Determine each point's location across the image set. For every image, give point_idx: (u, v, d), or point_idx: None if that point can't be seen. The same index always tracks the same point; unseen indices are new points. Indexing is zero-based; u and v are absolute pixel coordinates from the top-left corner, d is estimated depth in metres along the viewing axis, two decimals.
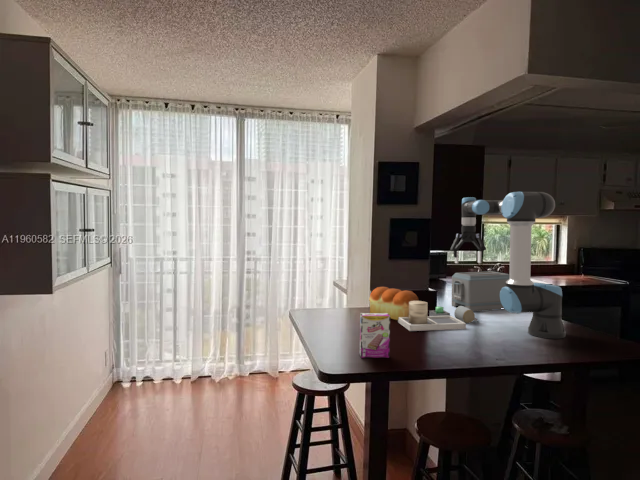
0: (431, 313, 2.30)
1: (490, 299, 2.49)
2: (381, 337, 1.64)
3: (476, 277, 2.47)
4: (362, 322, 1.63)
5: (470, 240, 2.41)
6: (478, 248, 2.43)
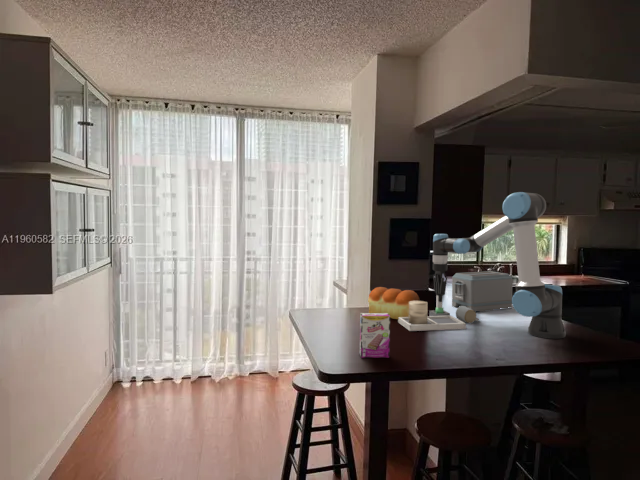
0: (431, 313, 2.30)
1: (492, 299, 2.49)
2: (381, 337, 1.64)
3: (478, 277, 2.46)
4: (362, 322, 1.63)
5: None
6: None
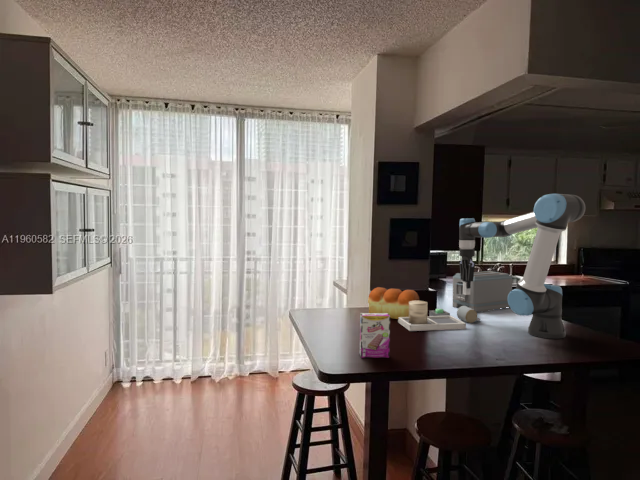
0: (431, 313, 2.30)
1: (493, 299, 2.49)
2: (381, 337, 1.64)
3: (479, 277, 2.46)
4: (362, 322, 1.63)
5: None
6: None
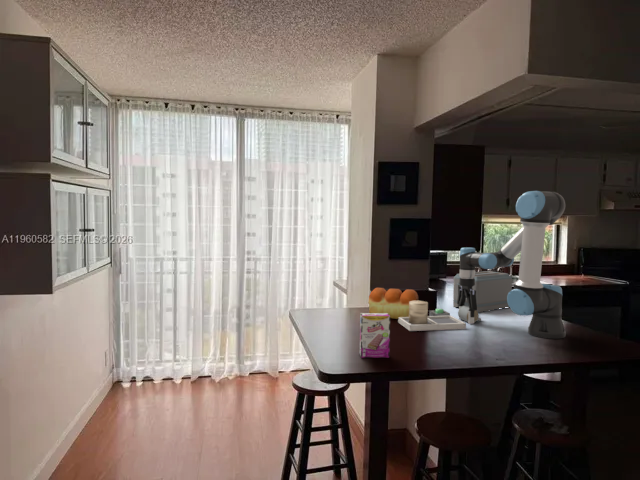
0: (431, 313, 2.30)
1: (494, 299, 2.49)
2: (381, 337, 1.64)
3: (481, 277, 2.45)
4: (362, 322, 1.63)
5: None
6: None
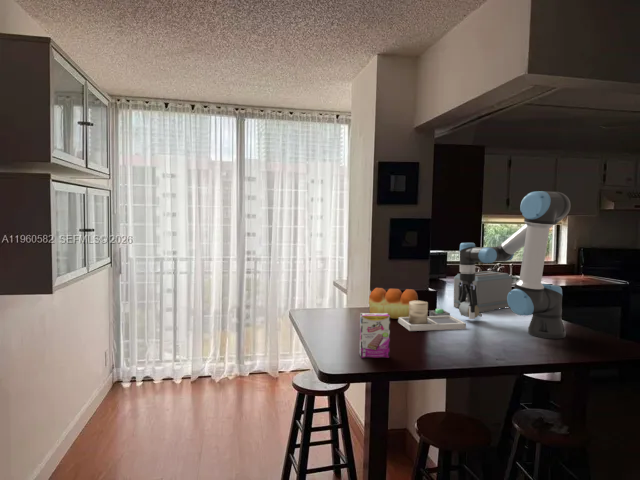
0: (431, 313, 2.30)
1: (495, 299, 2.49)
2: (381, 337, 1.64)
3: (482, 277, 2.45)
4: (362, 322, 1.63)
5: (466, 289, 2.21)
6: None
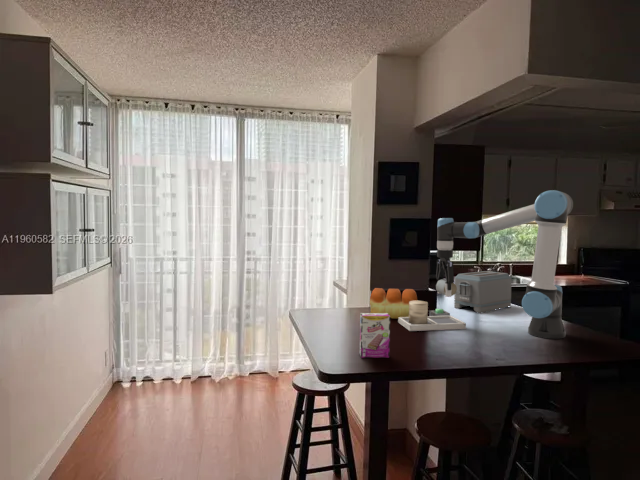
0: (431, 313, 2.30)
1: (495, 299, 2.49)
2: (381, 337, 1.64)
3: (484, 277, 2.45)
4: (362, 322, 1.63)
5: (443, 266, 2.13)
6: None
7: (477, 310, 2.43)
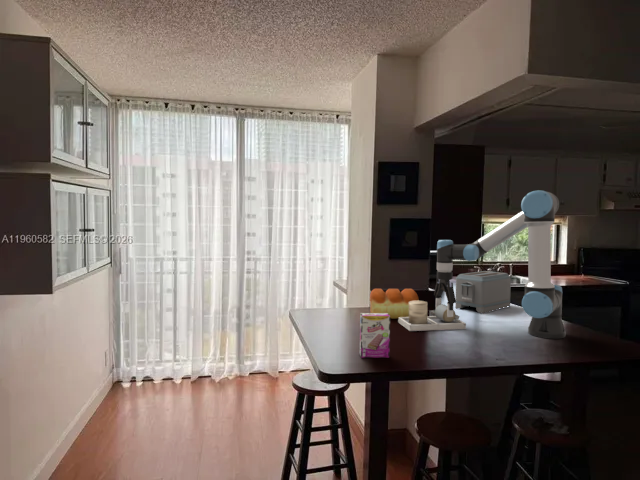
0: (431, 313, 2.30)
1: (497, 299, 2.49)
2: (381, 337, 1.64)
3: (486, 277, 2.44)
4: (362, 322, 1.63)
5: (443, 288, 2.13)
6: None
7: (480, 310, 2.42)
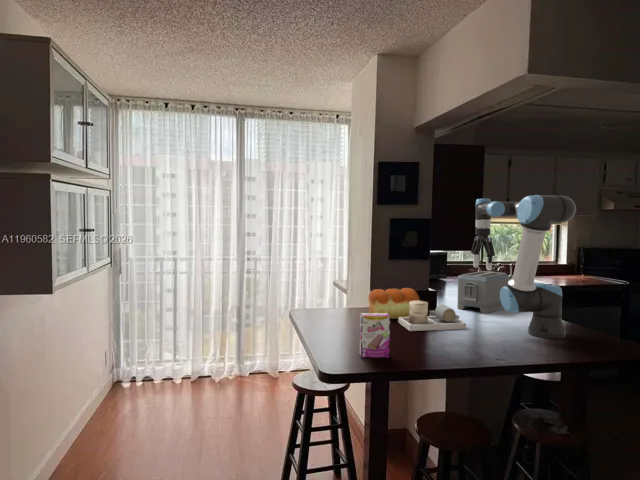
0: (431, 313, 2.30)
1: (498, 299, 2.50)
2: (381, 337, 1.64)
3: (489, 277, 2.44)
4: (362, 322, 1.63)
5: (481, 244, 2.28)
6: None
7: (484, 311, 2.41)
